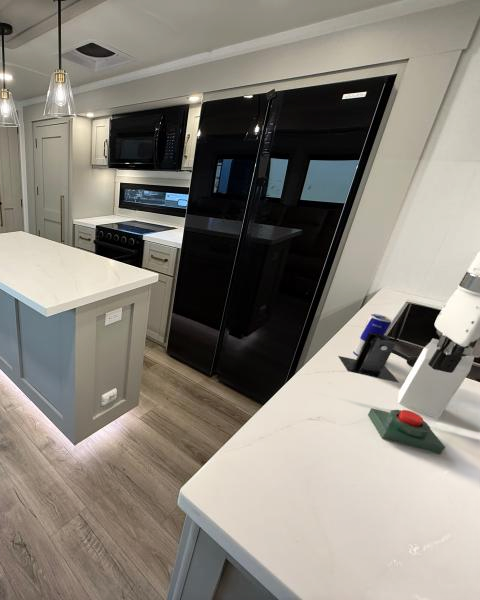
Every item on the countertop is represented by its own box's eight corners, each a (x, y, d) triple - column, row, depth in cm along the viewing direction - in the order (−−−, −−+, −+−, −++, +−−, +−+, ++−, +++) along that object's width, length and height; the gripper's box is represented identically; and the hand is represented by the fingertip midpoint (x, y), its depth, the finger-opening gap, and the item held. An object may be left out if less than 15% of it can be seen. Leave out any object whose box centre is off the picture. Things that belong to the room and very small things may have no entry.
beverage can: (358, 361, 98) (378, 319, 92) (348, 352, 103) (366, 312, 97) (375, 363, 98) (397, 321, 92) (365, 354, 102) (384, 314, 96)
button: (414, 418, 71) (418, 412, 70) (423, 429, 68) (427, 423, 67) (394, 413, 72) (398, 407, 71) (402, 424, 69) (406, 418, 68)
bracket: (383, 368, 95) (400, 335, 91) (397, 385, 88) (417, 350, 83) (336, 358, 99) (351, 326, 95) (346, 374, 92) (362, 340, 87)
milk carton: (397, 394, 84) (432, 333, 77) (434, 408, 80) (475, 345, 72) (396, 406, 79) (433, 343, 72) (436, 422, 75) (479, 356, 67)
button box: (419, 428, 73) (428, 415, 71) (440, 454, 66) (450, 441, 64) (367, 414, 76) (374, 402, 75) (381, 438, 69) (389, 425, 68)
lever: (412, 366, 90) (422, 358, 88) (418, 372, 87) (429, 364, 85) (367, 342, 92) (376, 334, 90) (372, 347, 89) (381, 339, 88)
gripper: (559, 305, 49) (491, 396, 56) (489, 278, 62) (441, 355, 69) (494, 296, 52) (437, 384, 59) (440, 272, 64) (398, 347, 72)
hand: (439, 368), depth 64 cm, fingers closed
